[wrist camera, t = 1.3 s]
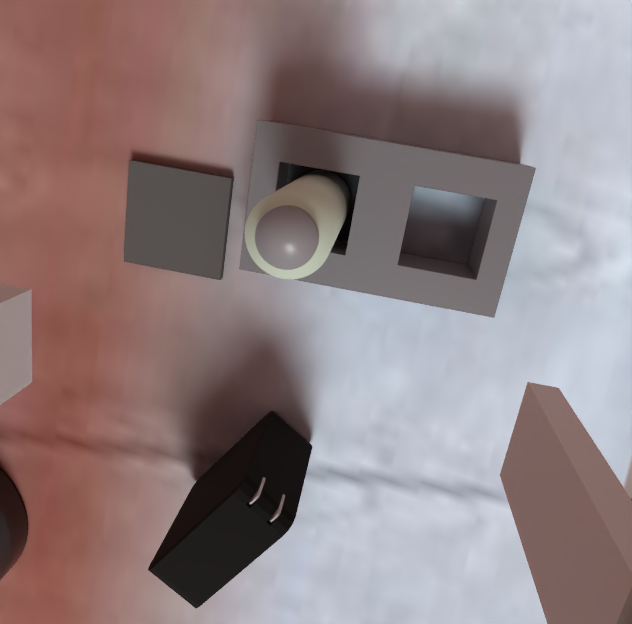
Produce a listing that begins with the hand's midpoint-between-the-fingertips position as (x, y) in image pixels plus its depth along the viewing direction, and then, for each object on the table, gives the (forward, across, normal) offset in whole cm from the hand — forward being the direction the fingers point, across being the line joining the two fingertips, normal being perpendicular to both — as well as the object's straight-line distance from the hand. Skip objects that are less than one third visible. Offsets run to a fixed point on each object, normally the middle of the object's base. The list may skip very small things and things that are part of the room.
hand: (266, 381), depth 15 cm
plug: (+25, -2, +1) cm, 25 cm away
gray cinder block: (+25, +2, +1) cm, 25 cm away
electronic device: (+25, -4, -20) cm, 32 cm away
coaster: (+25, -11, -2) cm, 27 cm away
